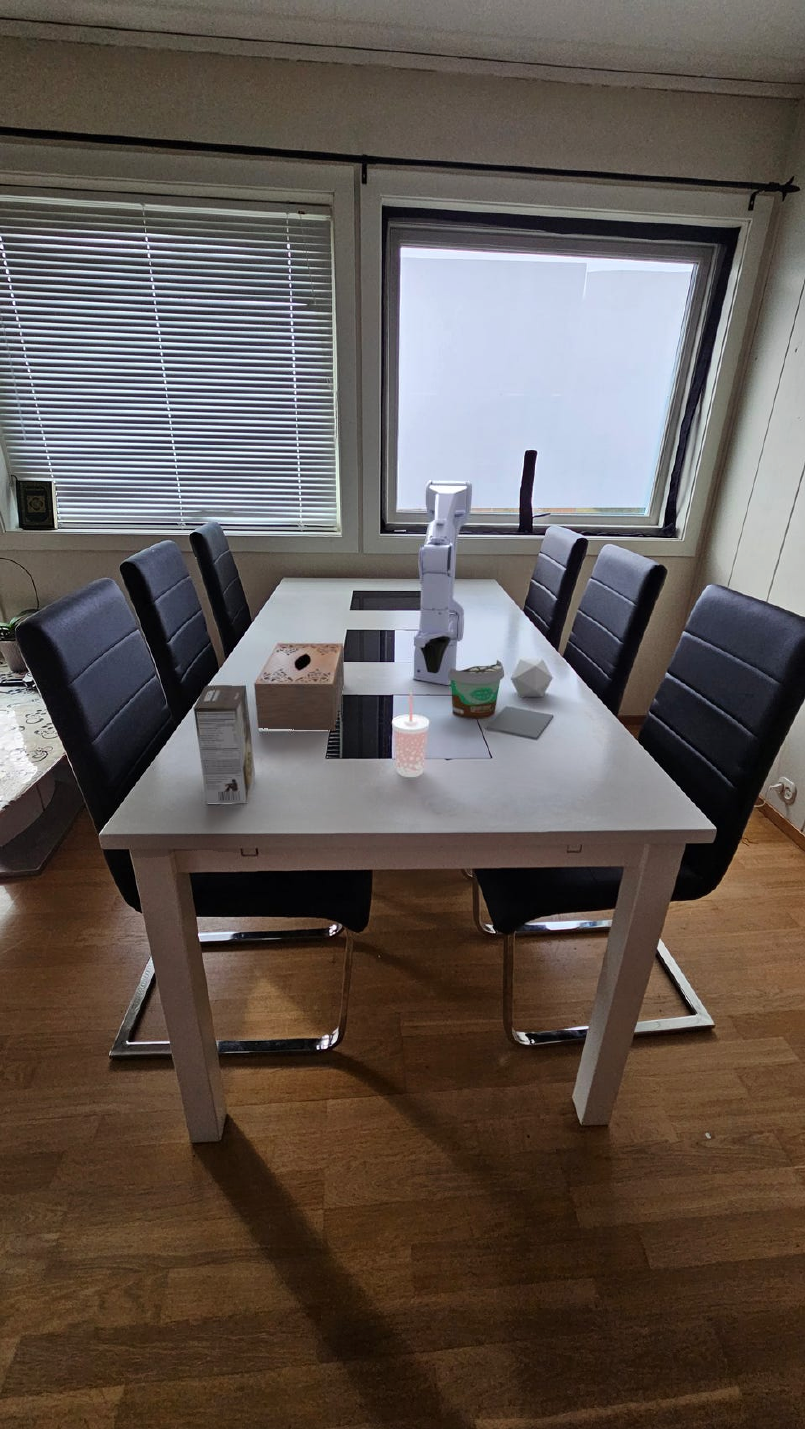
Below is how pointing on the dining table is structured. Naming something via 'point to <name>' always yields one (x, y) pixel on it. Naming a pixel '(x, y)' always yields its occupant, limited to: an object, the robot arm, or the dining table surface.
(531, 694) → the die
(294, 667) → the tissue box cover
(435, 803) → the dining table surface
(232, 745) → the coffee box
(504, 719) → the mat
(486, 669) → the food container
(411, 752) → the beverage cup
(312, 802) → the dining table surface
